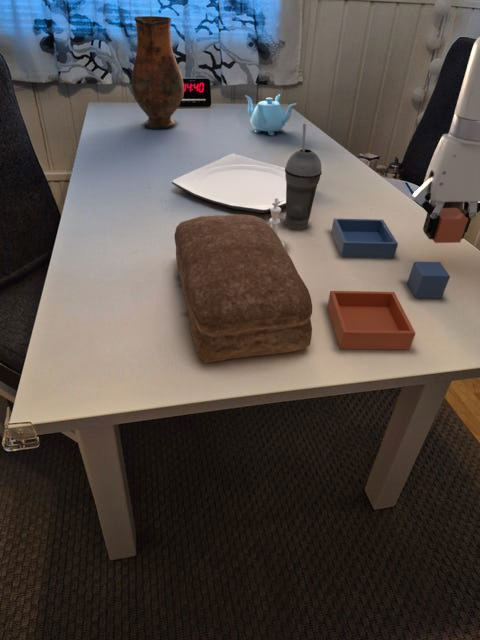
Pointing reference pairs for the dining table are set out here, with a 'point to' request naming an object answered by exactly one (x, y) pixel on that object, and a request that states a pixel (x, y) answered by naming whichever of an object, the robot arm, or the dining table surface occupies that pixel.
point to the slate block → (428, 280)
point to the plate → (237, 183)
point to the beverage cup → (301, 185)
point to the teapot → (268, 115)
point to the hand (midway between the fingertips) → (443, 234)
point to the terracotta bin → (369, 320)
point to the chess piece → (275, 216)
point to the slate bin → (363, 238)
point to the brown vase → (156, 72)
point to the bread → (241, 288)
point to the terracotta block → (450, 226)
